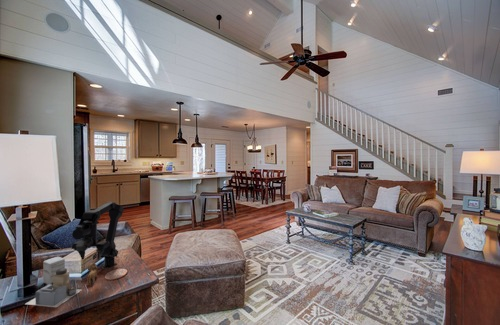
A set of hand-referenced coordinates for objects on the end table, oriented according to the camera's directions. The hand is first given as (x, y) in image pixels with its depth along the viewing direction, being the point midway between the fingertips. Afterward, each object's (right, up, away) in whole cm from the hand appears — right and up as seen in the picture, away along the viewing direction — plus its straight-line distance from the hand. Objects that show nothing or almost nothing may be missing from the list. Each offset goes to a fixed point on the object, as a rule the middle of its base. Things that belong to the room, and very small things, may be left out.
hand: (90, 259), depth 129 cm
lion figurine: (+2, -13, -2) cm, 13 cm away
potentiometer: (+1, -11, -15) cm, 19 cm away
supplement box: (-20, -12, -2) cm, 23 cm away
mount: (-6, -12, -17) cm, 22 cm away
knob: (-4, -11, -15) cm, 19 cm away
